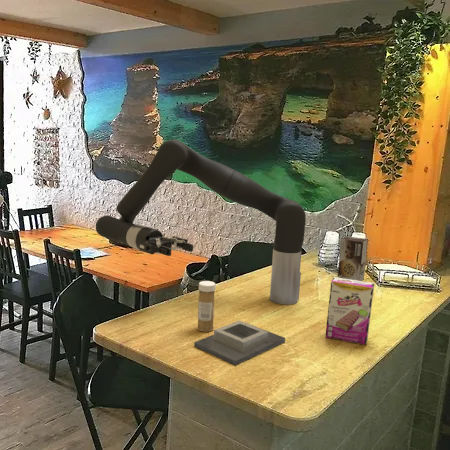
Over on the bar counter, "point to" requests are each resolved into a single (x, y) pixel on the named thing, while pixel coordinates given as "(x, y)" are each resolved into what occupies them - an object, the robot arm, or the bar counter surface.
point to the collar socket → (238, 342)
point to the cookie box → (352, 258)
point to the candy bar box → (349, 310)
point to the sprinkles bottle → (206, 306)
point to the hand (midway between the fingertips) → (181, 250)
